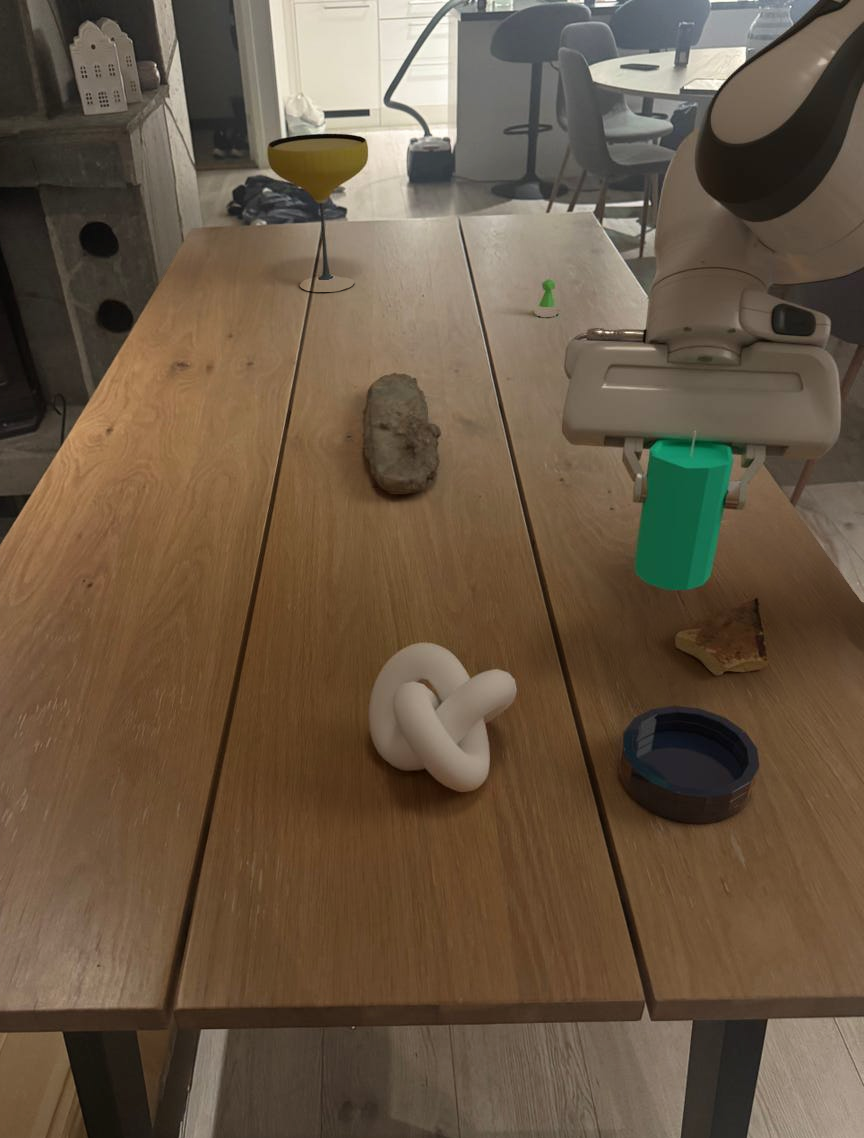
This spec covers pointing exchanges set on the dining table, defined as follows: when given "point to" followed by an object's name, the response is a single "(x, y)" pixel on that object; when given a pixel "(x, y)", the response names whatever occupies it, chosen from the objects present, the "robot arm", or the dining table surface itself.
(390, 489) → the elongated rock
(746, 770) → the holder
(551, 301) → the game piece
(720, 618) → the shard
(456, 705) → the white knot sculpture
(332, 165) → the cocktail glass
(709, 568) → the candle
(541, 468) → the dining table surface
